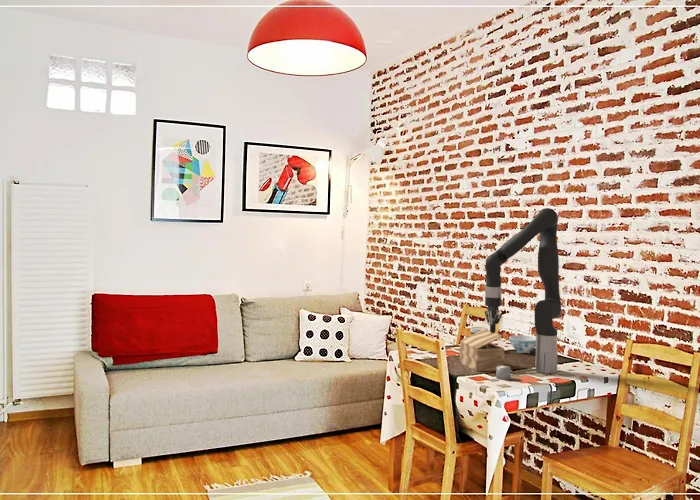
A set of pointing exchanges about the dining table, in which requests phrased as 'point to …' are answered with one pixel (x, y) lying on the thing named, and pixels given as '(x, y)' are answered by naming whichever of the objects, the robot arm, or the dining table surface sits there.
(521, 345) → the chinaware
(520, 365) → the dining table surface
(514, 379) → the dining table surface
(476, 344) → the box lid
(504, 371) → the grey rounded block
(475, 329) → the disposable coffee cup
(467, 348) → the wooden box
